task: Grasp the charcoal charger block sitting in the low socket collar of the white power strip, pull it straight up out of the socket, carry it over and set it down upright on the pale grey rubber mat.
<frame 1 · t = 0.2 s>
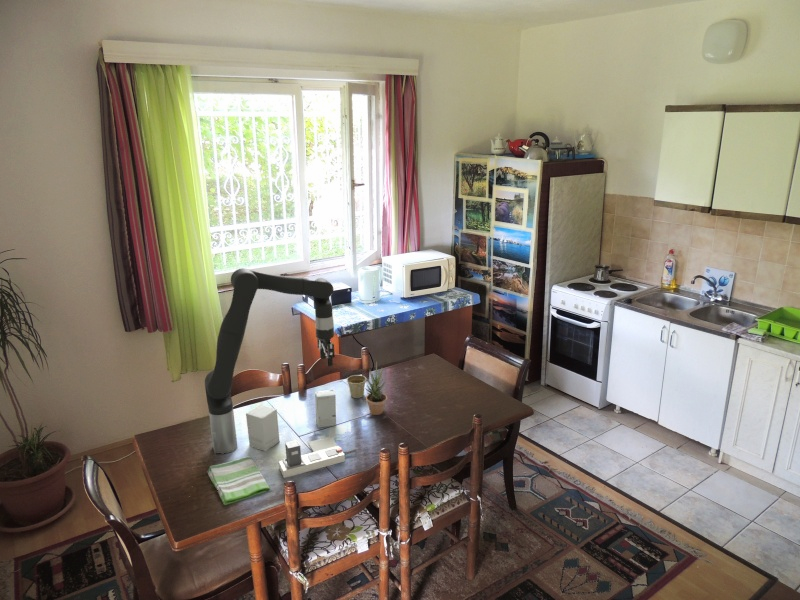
hand: (326, 362, 239), 29 cm above the table, fingers open, 8 cm apart
supplement box: (264, 444, 232), on the table
potted plant: (376, 411, 257), on the table
mat: (323, 446, 230), on the table
flower pot: (357, 395, 273), on the table
charger: (294, 462, 213), point 3 cm above the table, touching power strip
dish towel: (238, 483, 208), on the table
power strip: (312, 464, 217), on the table
skincare box: (326, 424, 247), on the table
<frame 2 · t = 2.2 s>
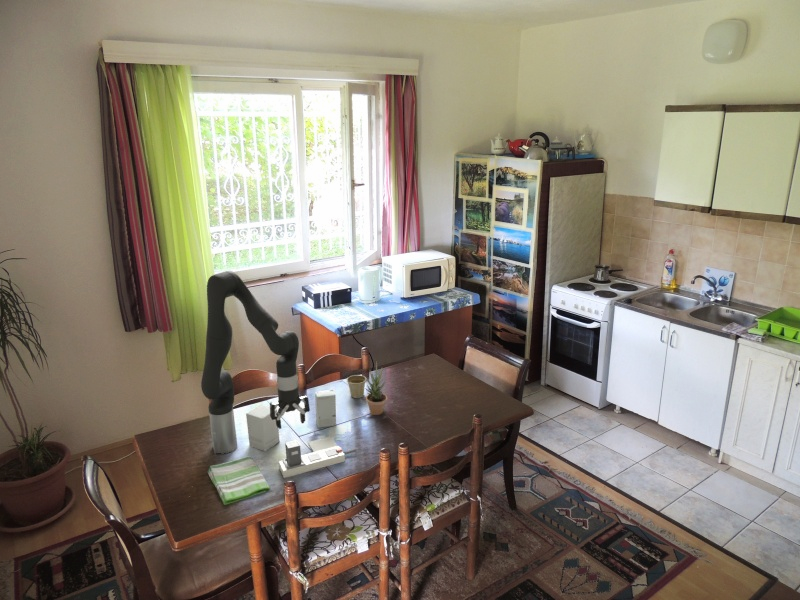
hand: (291, 425, 209), 19 cm above the table, fingers open, 8 cm apart
nothing on the table moved.
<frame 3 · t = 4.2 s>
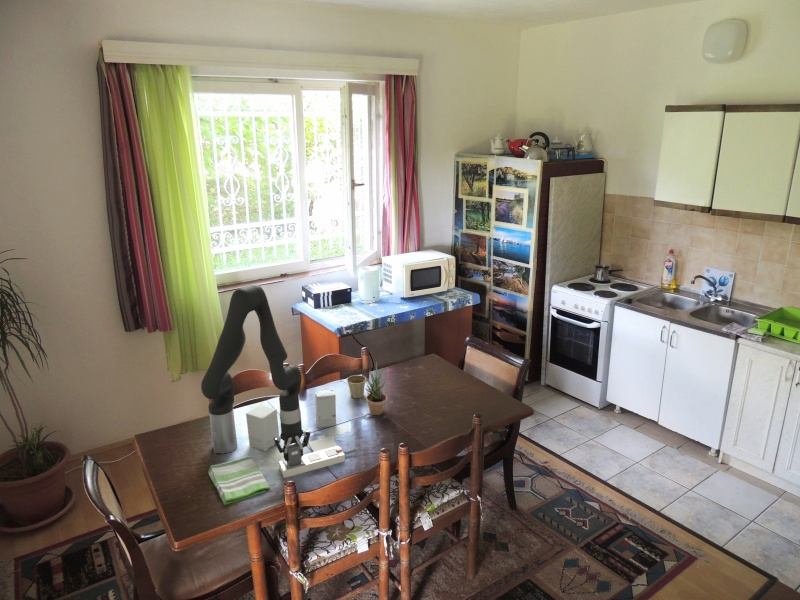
hand: (293, 458, 213), 5 cm above the table, fingers closed on charger, 4 cm apart
charger: (294, 462, 213), point 3 cm above the table, touching gripper, power strip
everything else where it was.
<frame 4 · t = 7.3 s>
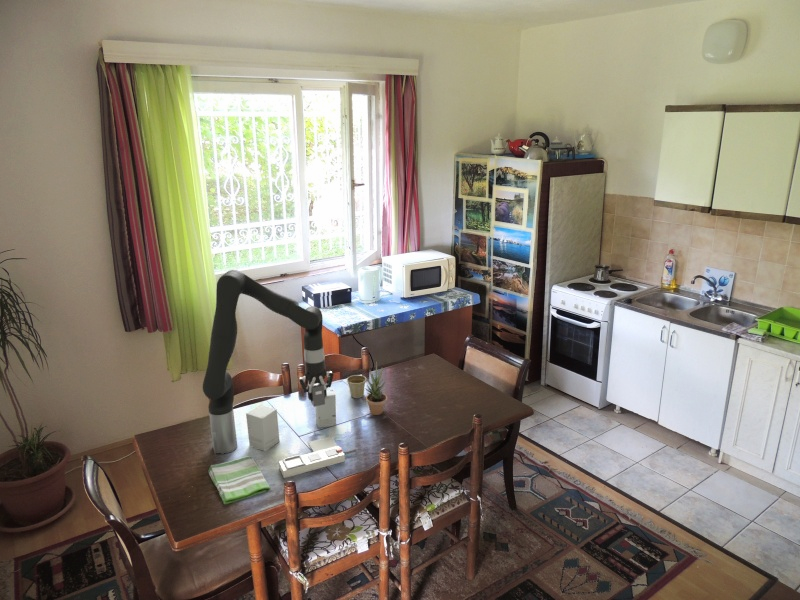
hand: (317, 398, 220), 23 cm above the table, fingers closed on charger, 4 cm apart
charger: (317, 403, 221), point 21 cm above the table, touching gripper
everything else where it was.
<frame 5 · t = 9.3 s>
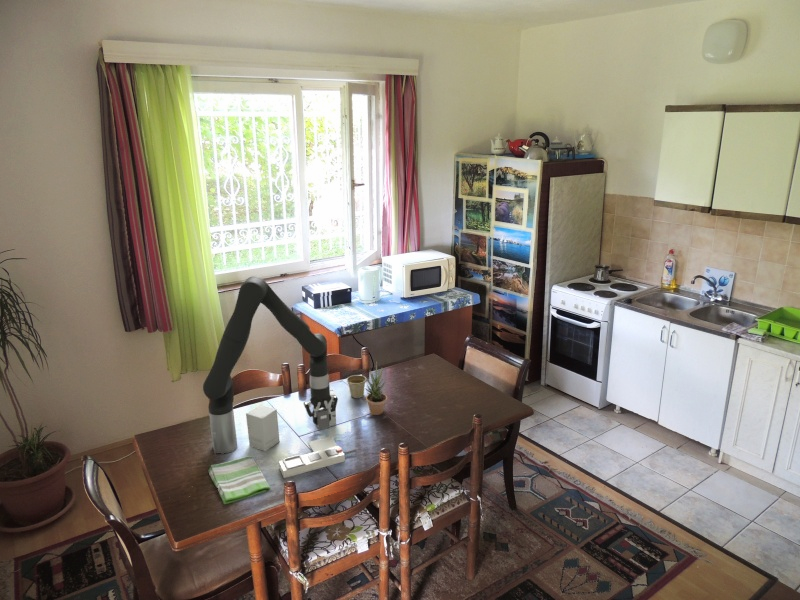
hand: (322, 422, 226), 11 cm above the table, fingers closed on charger, 4 cm apart
charger: (322, 426, 227), point 9 cm above the table, touching gripper
everything else where it was.
when the fingers open (4 cm above the table, at t = 10.9 s): charger drops 1 cm, resting on mat.
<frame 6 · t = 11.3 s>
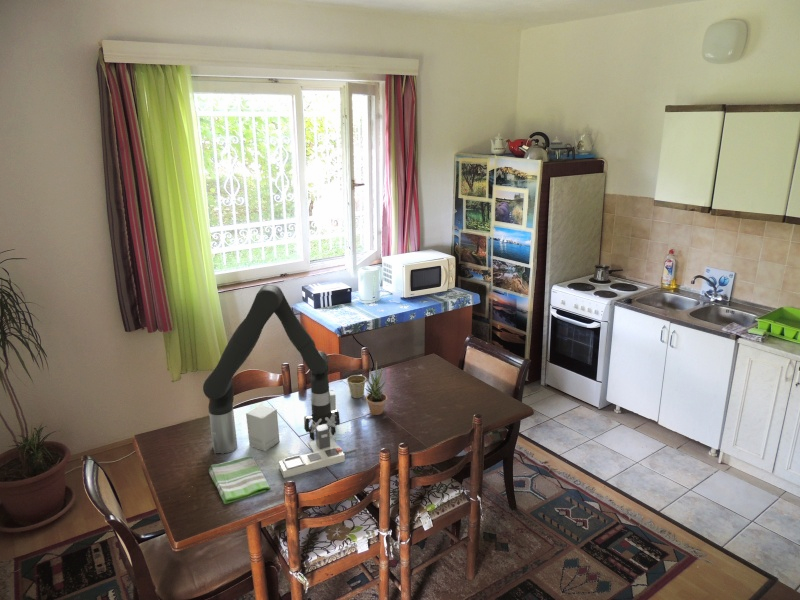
hand: (323, 436, 228), 4 cm above the table, fingers open, 8 cm apart
charger: (323, 445, 229), point 1 cm above the table, touching mat
everything else where it was.
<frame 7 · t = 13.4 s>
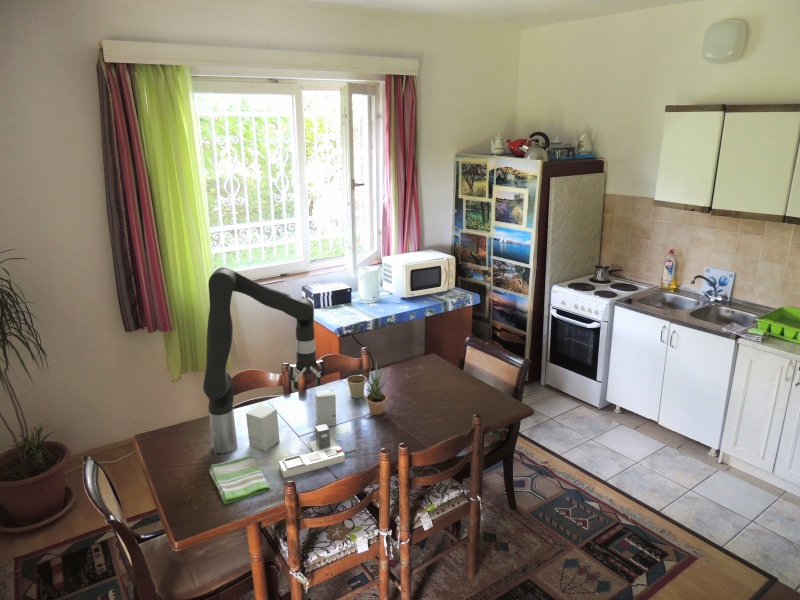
hand: (307, 387, 225), 25 cm above the table, fingers open, 8 cm apart
nothing on the table moved.
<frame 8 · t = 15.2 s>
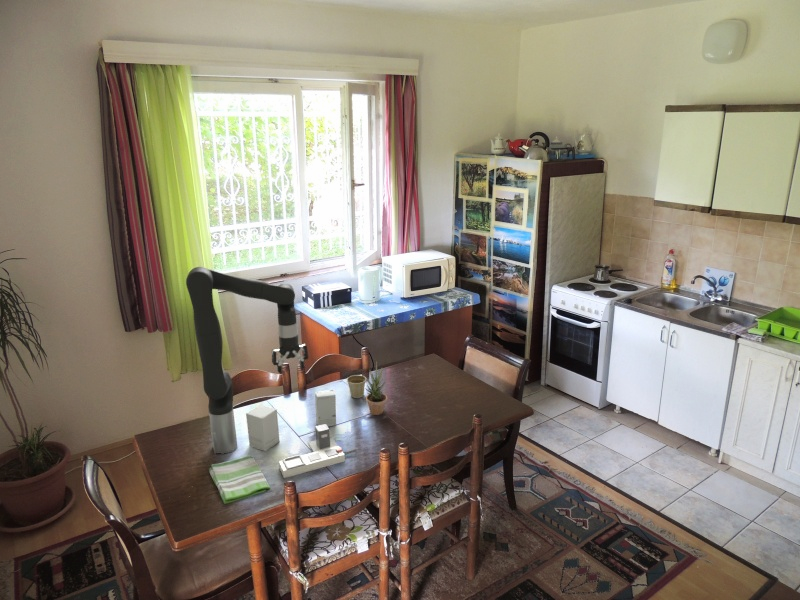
hand: (291, 371, 228), 30 cm above the table, fingers open, 8 cm apart
nothing on the table moved.
at the end: charger inside the target area on the mat (0.1 cm from its centre), point 0.6 cm above the mat's base; charger tilted 0°; charger touching mat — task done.
